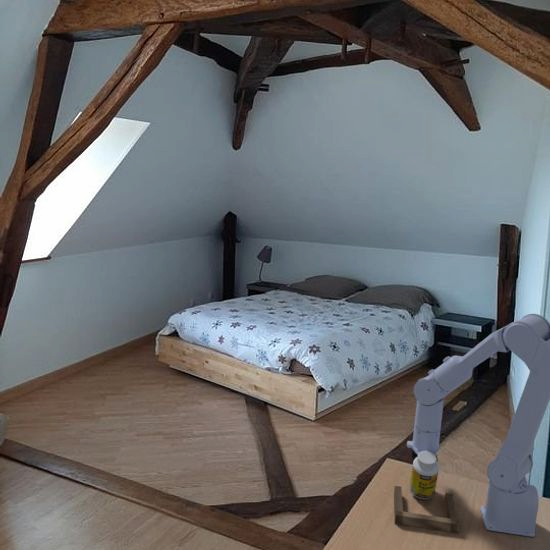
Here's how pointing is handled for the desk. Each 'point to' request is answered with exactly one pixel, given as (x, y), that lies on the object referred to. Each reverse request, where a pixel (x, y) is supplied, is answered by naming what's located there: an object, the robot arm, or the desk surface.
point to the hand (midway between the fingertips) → (421, 482)
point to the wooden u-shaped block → (425, 520)
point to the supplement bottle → (424, 475)
